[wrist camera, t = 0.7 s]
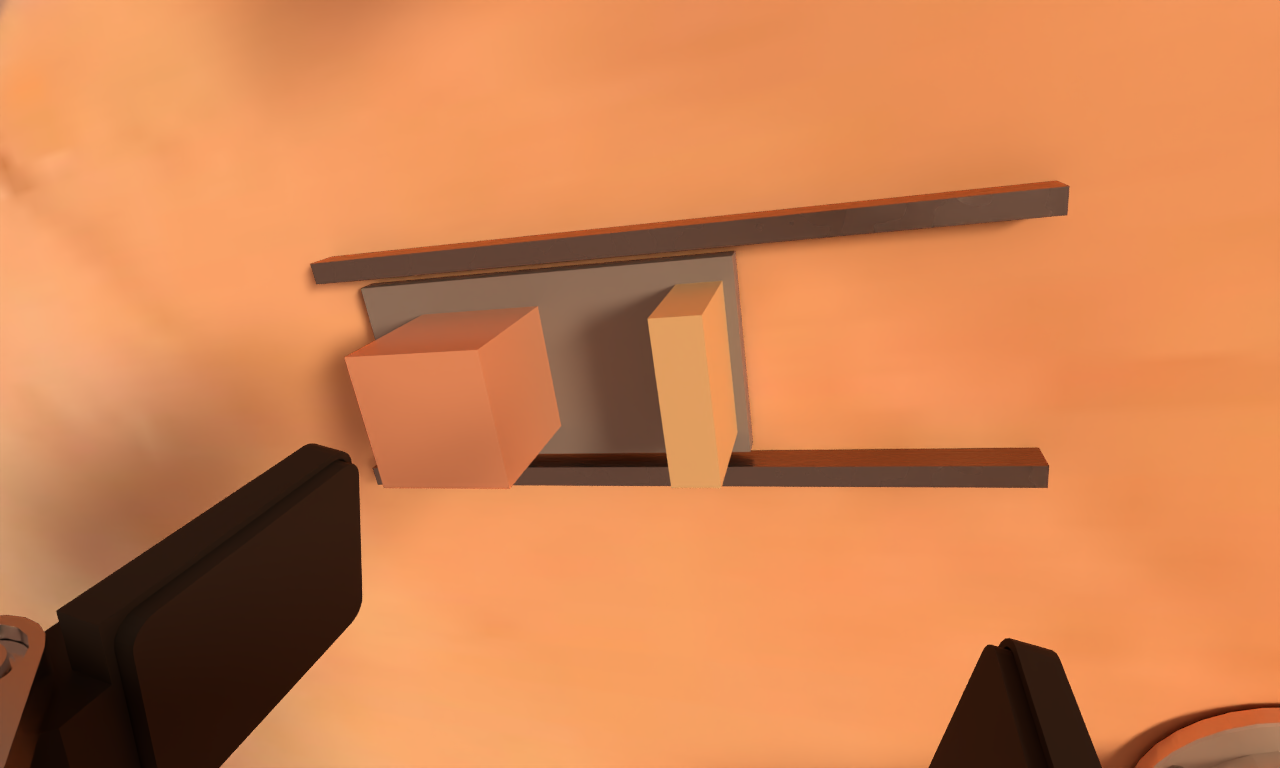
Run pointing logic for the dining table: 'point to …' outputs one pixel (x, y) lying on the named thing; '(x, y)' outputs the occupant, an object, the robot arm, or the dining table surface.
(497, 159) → the dining table surface
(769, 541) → the dining table surface
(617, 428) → the grey sliding tray
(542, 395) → the block
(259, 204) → the dining table surface
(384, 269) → the rails
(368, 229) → the dining table surface
